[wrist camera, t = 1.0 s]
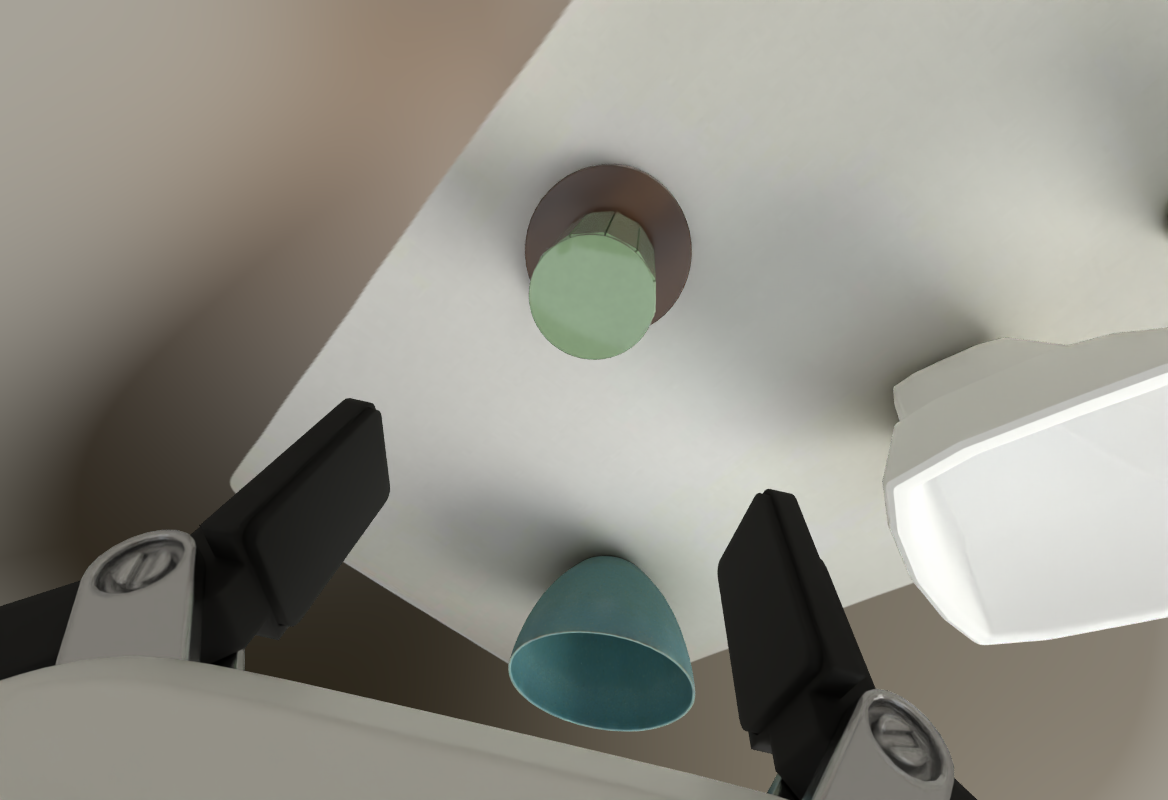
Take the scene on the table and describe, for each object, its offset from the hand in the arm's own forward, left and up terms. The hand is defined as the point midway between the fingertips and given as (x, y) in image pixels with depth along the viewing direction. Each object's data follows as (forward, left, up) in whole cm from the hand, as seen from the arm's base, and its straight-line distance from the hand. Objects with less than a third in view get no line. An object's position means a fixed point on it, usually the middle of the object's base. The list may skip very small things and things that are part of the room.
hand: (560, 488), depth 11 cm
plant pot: (+31, -21, -25) cm, 45 cm away
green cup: (-1, -1, -22) cm, 22 cm away
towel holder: (-1, -1, -25) cm, 25 cm away
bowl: (+23, +17, -25) cm, 38 cm away
